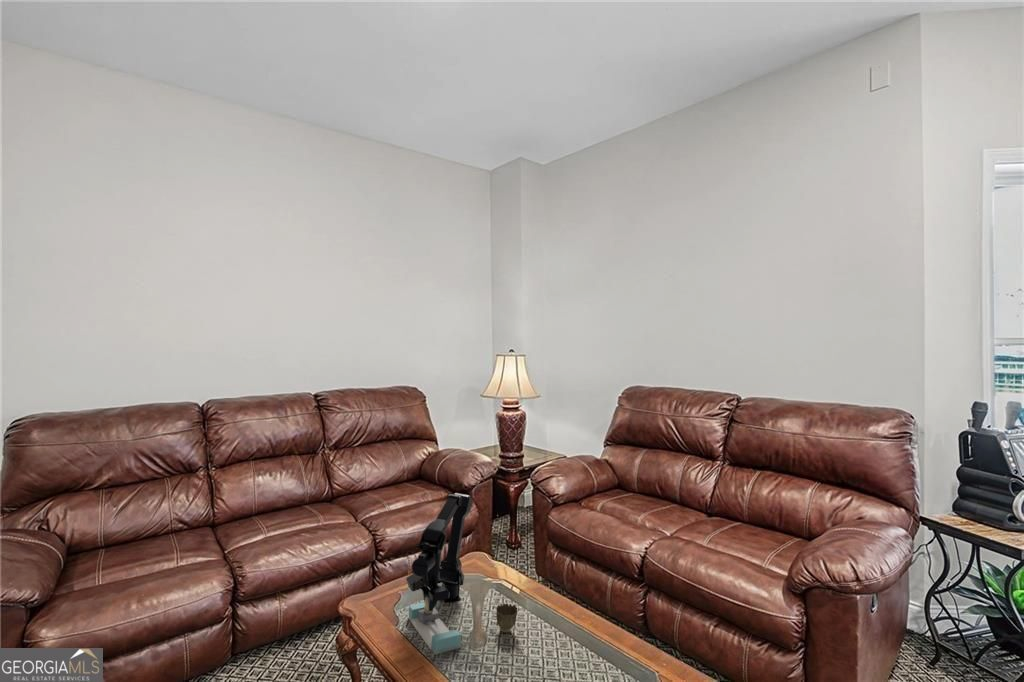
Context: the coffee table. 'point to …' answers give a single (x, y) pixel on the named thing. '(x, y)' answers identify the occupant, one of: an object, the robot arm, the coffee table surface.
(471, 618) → the coffee table surface
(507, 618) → the cup
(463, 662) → the coffee table surface
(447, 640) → the rail track
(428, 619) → the carriage
